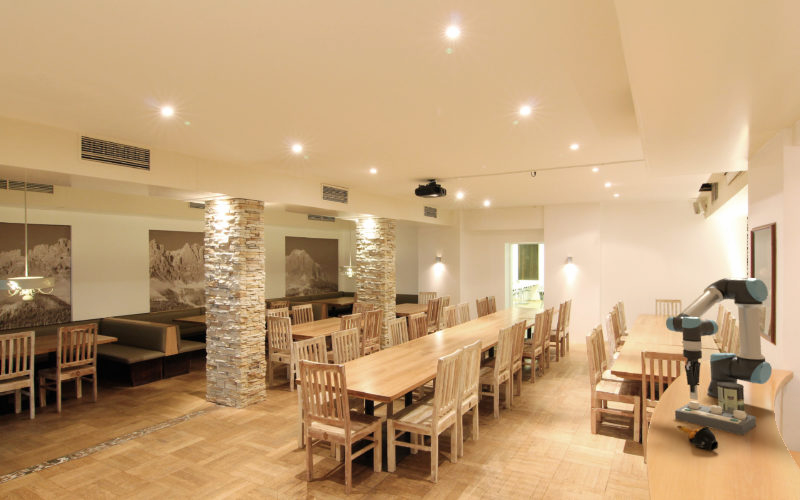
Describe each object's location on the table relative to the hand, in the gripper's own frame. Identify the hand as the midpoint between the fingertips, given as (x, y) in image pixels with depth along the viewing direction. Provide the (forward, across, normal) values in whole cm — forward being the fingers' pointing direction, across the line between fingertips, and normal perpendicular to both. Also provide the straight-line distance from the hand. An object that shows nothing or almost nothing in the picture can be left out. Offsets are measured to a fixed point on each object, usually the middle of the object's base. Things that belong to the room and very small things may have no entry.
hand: (693, 398), depth 213 cm
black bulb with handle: (+9, +35, +13) cm, 39 cm away
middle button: (+7, 0, +9) cm, 11 cm away
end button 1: (+7, 0, 0) cm, 7 cm away
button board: (+8, +2, +9) cm, 12 cm away
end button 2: (+7, 0, +18) cm, 19 cm away
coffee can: (+8, -17, +10) cm, 21 cm away
